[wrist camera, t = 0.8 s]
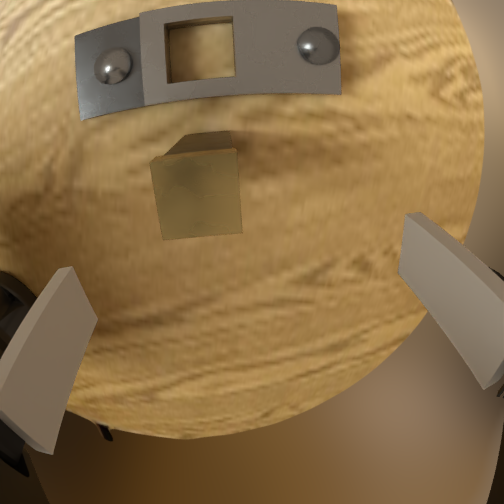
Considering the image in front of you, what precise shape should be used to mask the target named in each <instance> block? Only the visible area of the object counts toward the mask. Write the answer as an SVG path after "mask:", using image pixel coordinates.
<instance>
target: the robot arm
mask: <svg viewBox="0 0 504 504" xmlns="http://www.w3.org/2000/svg"><path fill="white" fill-rule="evenodd" d="M398 274H399V275H400V276H401V277H402V279H403V280H404V281H405V282H406V284H407V285H408V286H409V287H410V288H411V290H412V291H413V292H414V293H415V295H416V296H417V297H418V298H419V300H420V301H421V302H422V303H423V305H424V306H425V307H426V309H427V310H428V311H429V313H430V314H431V315H432V316H433V318H434V319H435V320H436V322H437V323H438V324H439V326H440V327H441V328H442V330H443V331H444V333H445V334H446V335H447V337H448V338H449V339H450V341H451V342H452V344H453V345H454V346H455V348H456V349H457V351H458V352H459V354H460V355H461V356H462V358H463V359H464V361H465V362H466V364H467V365H468V367H469V368H470V370H471V371H472V373H473V374H474V376H475V377H476V379H477V381H478V382H479V384H480V385H481V387H482V388H483V390H484V389H486V388H487V387H489V386H491V385H492V384H494V383H496V382H497V381H498V380H499V379H500V378H501V377H502V375H503V374H504V277H503V276H502V275H501V274H500V273H498V272H496V271H495V270H493V269H491V268H490V267H488V266H486V265H485V264H484V263H483V262H482V261H481V260H480V259H479V258H477V257H476V256H475V255H474V254H473V253H472V252H470V251H469V250H468V249H467V248H466V247H464V246H463V245H462V244H461V243H460V242H458V241H457V240H456V239H455V238H453V237H452V236H451V235H450V234H448V233H447V232H446V231H445V230H443V229H442V228H441V227H439V226H438V225H437V224H436V223H434V222H433V221H432V220H430V219H429V218H428V217H426V216H425V215H424V214H422V213H421V212H417V213H409V214H405V222H404V231H403V239H402V247H401V254H400V261H399V267H398ZM97 321H98V318H97V316H96V314H95V312H94V310H93V308H92V306H91V304H90V302H89V300H88V298H87V296H86V294H85V292H84V290H83V288H82V286H81V284H80V281H79V279H78V277H77V275H76V273H75V270H74V268H73V266H70V267H65V268H59V269H58V270H57V271H56V273H55V274H54V275H53V277H52V278H51V280H50V281H49V282H48V284H47V285H46V287H45V288H44V289H43V291H42V292H41V294H40V295H39V297H38V298H36V297H35V296H34V295H33V293H32V292H31V291H30V290H29V289H28V288H27V287H26V286H24V285H23V284H22V283H21V282H20V281H18V280H17V279H15V278H14V277H12V276H10V275H8V274H6V273H3V272H0V504H50V503H49V501H48V499H47V497H46V495H45V492H44V490H43V488H42V486H41V483H40V481H39V478H38V476H37V473H36V471H35V468H34V466H33V463H32V460H31V457H30V455H29V453H28V451H27V450H26V449H25V448H23V447H24V444H25V442H26V443H27V444H29V445H30V446H31V447H32V448H34V449H35V450H37V451H40V452H44V453H48V454H52V455H53V451H54V447H55V443H56V439H57V436H58V432H59V428H60V425H61V422H62V418H63V415H64V411H65V408H66V405H67V402H68V399H69V396H70V393H71V390H72V387H73V384H74V381H75V378H76V375H77V372H78V369H79V367H80V364H81V361H82V359H83V356H84V353H85V351H86V348H87V346H88V343H89V340H90V338H91V335H92V333H93V331H94V328H95V326H96V323H97ZM503 391H504V384H503V386H502V387H501V388H500V390H499V391H498V394H497V397H500V395H501V394H502V393H503ZM503 398H504V396H503ZM487 504H504V425H503V432H502V439H501V445H500V451H499V456H498V461H497V466H496V470H495V475H494V479H493V483H492V486H491V490H490V494H489V497H488V501H487Z"/></svg>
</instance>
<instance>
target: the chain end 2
mask: <svg viewBox="0 0 504 504" xmlns="http://www.w3.org/2000/svg"><path fill="white" fill-rule="evenodd" d="M226 19H233V36H234V54H235V71H236V77H225V78H213V79H203V80H194V81H186V82H179V83H172V84H169V70H168V53H167V33H166V27H167V26H173V25H179V24H186V23H194V22H203V21H213V20H226ZM140 46H141V64H142V79H143V91H144V102H145V106H147V105H153V104H159V103H165V102H172V101H179V100H187V99H195V98H204V97H215V96H227V95H242V94H272V93H303V94H331V95H341V65H340V44H339V29H338V16H337V5H332V4H324V3H315V2H304V1H289V0H230V1H215V2H204V3H195V4H187V5H180V6H174V7H168V8H162V9H157V10H152V11H147V12H142V13H140Z"/></svg>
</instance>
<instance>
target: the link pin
mask: <svg viewBox="0 0 504 504" xmlns="http://www.w3.org/2000/svg"><path fill="white" fill-rule="evenodd" d="M150 168H151V175H152V181H153V187H154V194H155V199H156V205H157V211H158V216H159V222H160V227H161V232H162V237H163V240H171V239H182V238H193V237H204V236H215V235H227V234H239V233H243V232H242V218H241V203H240V188H239V173H238V158H237V150H236V148H232V143H231V136H230V131H220V132H209V133H199V134H190V135H185V136H183V137H182V138H181V139H180V140H179V141H178V142H177V143H176V144H175V145H174V146H173V147H172V148H171V149H170V150H169V151H168V152H167V153H166V154H165V155H164V156H158V157H155V158H154V159H153V160H152V161H151V162H150Z"/></svg>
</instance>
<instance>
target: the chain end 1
mask: <svg viewBox="0 0 504 504" xmlns="http://www.w3.org/2000/svg"><path fill="white" fill-rule="evenodd" d="M229 22H232V27H233V19H226V20H213V21H203V22H194V23H186V24H179V25H173V26H167V27H166V33H167V53H168V70H169V84H172V80H171V65H170V48H169V29H173V28H180V27H187V26H195V25H204V24H215V23H229ZM233 45H234V36H233ZM234 63H235V54H234ZM75 64H76V80H77V92H78V103H79V112H80V120H85V119H89V118H93V117H97V116H101V115H105V114H109V113H113V112H118V111H123V110H127V109H132V108H137V107H143V106H145V102H144V91H143V79H142V64H141V46H140V17H137V18H133V19H129V20H125V21H121V22H117V23H114V24H110V25H107V26H103V27H100V28H97V29H94V30H91V31H88V32H85V33H82V34H79V35H76V36H75ZM235 77H236V71H235ZM242 95H245V94H242ZM227 96H229V95H227ZM215 97H216V96H215ZM204 98H206V97H204ZM195 99H197V98H195ZM187 100H188V99H187ZM179 101H181V100H179ZM172 102H173V101H172ZM165 103H167V102H165ZM159 104H160V103H159ZM153 105H154V104H153ZM147 106H148V105H147Z"/></svg>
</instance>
